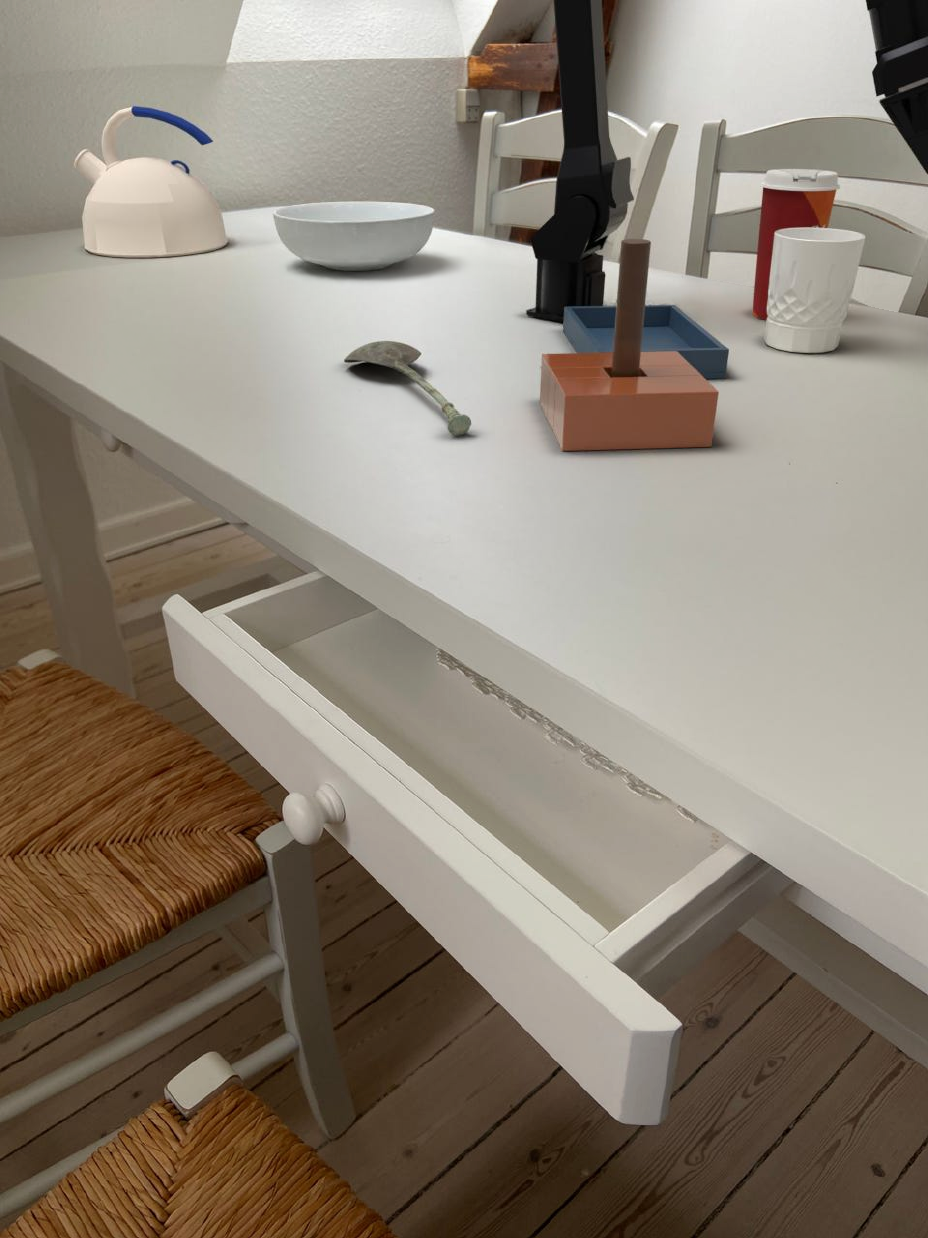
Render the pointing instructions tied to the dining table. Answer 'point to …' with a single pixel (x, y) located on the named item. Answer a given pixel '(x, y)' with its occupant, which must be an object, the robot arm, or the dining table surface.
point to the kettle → (147, 199)
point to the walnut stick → (630, 307)
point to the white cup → (811, 287)
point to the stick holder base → (626, 402)
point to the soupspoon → (399, 359)
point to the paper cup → (789, 216)
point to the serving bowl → (354, 232)
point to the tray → (648, 335)
